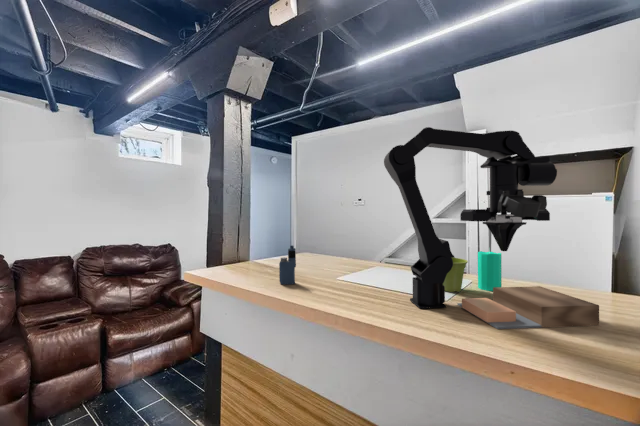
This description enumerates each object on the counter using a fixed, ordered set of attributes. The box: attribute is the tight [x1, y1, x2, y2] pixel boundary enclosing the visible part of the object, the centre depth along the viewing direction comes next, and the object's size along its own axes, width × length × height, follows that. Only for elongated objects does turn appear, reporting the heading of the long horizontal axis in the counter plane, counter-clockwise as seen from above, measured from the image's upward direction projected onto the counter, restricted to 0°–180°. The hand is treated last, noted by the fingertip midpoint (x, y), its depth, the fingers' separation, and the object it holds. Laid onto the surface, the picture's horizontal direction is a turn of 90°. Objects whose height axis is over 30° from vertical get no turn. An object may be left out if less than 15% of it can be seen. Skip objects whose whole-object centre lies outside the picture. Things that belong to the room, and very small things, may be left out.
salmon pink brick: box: [461, 297, 516, 323], centre depth 62 cm, size 6×9×2 cm, turn 4°
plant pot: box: [443, 257, 469, 293], centre depth 82 cm, size 9×9×9 cm
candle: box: [477, 247, 503, 292], centre depth 83 cm, size 6×6×12 cm
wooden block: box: [492, 285, 600, 328], centre depth 63 cm, size 12×14×4 cm
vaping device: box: [278, 245, 297, 285], centre depth 90 cm, size 3×5×12 cm, turn 89°
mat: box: [456, 302, 543, 330], centre depth 62 cm, size 9×14×1 cm, turn 4°
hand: (503, 251), depth 68 cm, fingers closed
